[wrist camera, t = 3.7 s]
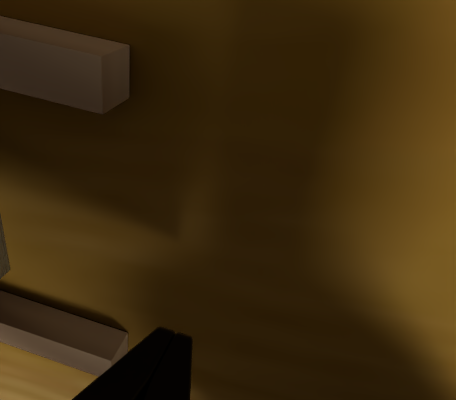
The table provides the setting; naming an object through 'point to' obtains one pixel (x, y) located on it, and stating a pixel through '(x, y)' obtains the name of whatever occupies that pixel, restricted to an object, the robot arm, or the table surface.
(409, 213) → the table surface
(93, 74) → the brown u-shaped frame
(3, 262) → the block
